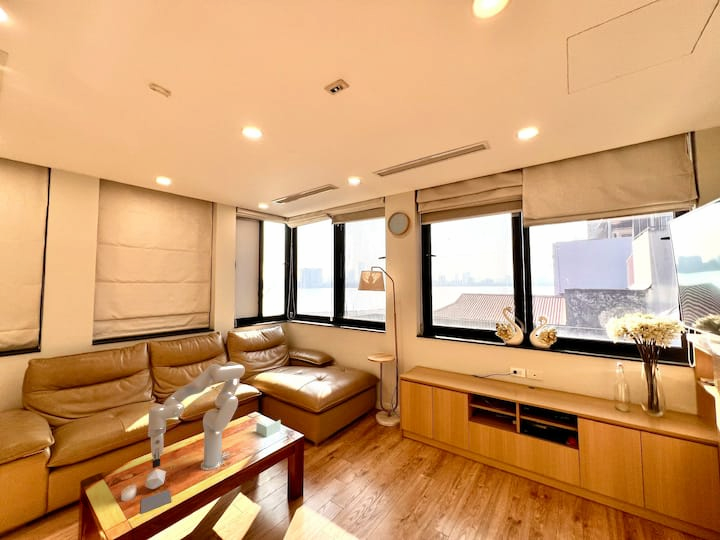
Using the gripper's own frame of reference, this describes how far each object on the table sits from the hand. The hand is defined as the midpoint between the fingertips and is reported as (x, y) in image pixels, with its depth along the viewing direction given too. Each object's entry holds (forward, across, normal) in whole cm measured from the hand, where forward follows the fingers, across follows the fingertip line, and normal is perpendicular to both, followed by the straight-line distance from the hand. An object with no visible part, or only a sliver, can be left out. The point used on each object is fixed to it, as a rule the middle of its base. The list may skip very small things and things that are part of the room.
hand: (156, 466), depth 148 cm
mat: (+13, -8, 0) cm, 15 cm away
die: (+13, +2, 0) cm, 13 cm away
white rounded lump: (+13, +4, +11) cm, 17 cm away
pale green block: (+13, +22, -68) cm, 72 cm away
